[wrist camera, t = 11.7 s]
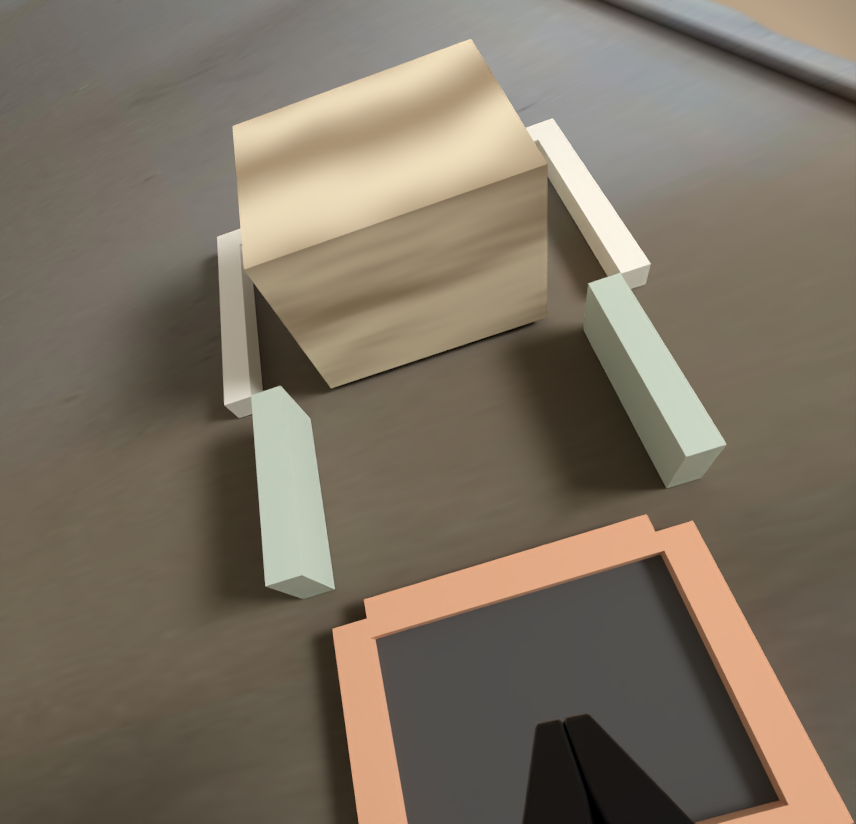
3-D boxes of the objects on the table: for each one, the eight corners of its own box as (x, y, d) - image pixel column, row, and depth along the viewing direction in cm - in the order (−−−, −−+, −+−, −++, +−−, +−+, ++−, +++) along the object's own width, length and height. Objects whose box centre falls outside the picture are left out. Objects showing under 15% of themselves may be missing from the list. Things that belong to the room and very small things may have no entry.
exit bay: (645, 284, 26) (650, 263, 25) (239, 418, 28) (224, 405, 26) (552, 140, 33) (552, 118, 32) (229, 253, 34) (217, 236, 33)
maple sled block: (547, 317, 26) (547, 163, 18) (330, 388, 27) (243, 269, 19) (489, 198, 31) (471, 38, 23) (308, 261, 32) (232, 125, 24)
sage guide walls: (700, 477, 21) (726, 444, 18) (303, 599, 22) (265, 586, 19) (611, 320, 26) (620, 272, 23) (284, 427, 27) (250, 395, 24)
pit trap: (852, 845, 15) (871, 854, 14) (388, 964, 16) (380, 980, 15) (677, 510, 21) (683, 502, 20) (338, 612, 22) (329, 610, 21)
